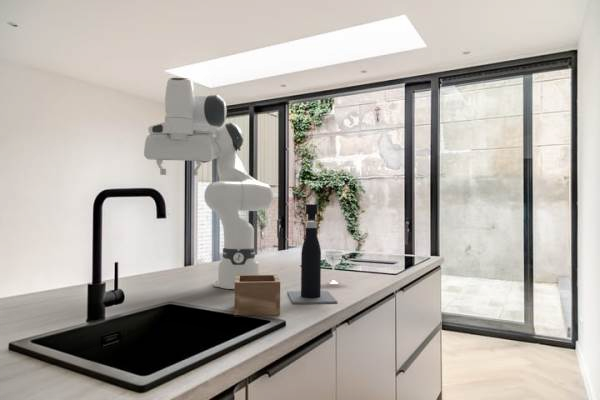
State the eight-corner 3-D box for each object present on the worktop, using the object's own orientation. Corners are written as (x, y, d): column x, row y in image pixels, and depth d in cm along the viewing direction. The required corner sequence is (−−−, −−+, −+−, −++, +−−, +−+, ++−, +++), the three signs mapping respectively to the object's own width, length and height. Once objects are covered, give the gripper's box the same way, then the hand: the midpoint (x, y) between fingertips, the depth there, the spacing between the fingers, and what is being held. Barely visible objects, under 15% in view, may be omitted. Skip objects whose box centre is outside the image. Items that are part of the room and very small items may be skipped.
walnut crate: (235, 305, 124) (236, 275, 124) (276, 304, 125) (277, 274, 126) (234, 315, 112) (234, 282, 112) (279, 314, 113) (280, 282, 113)
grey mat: (287, 293, 142) (287, 291, 142) (327, 292, 143) (327, 290, 144) (292, 304, 126) (292, 302, 126) (337, 303, 128) (337, 301, 128)
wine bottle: (318, 299, 131) (319, 204, 131) (299, 297, 132) (300, 204, 132) (321, 294, 137) (322, 204, 137) (303, 293, 138) (304, 204, 139)
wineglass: (321, 282, 162) (321, 252, 163) (330, 280, 168) (330, 250, 168) (336, 284, 158) (336, 253, 159) (344, 282, 164) (345, 251, 164)
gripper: (215, 132, 131) (214, 176, 131) (148, 130, 128) (147, 175, 128) (213, 129, 124) (212, 174, 124) (143, 127, 122) (142, 173, 122)
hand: (179, 175), depth 126 cm, fingers open, 8 cm apart
